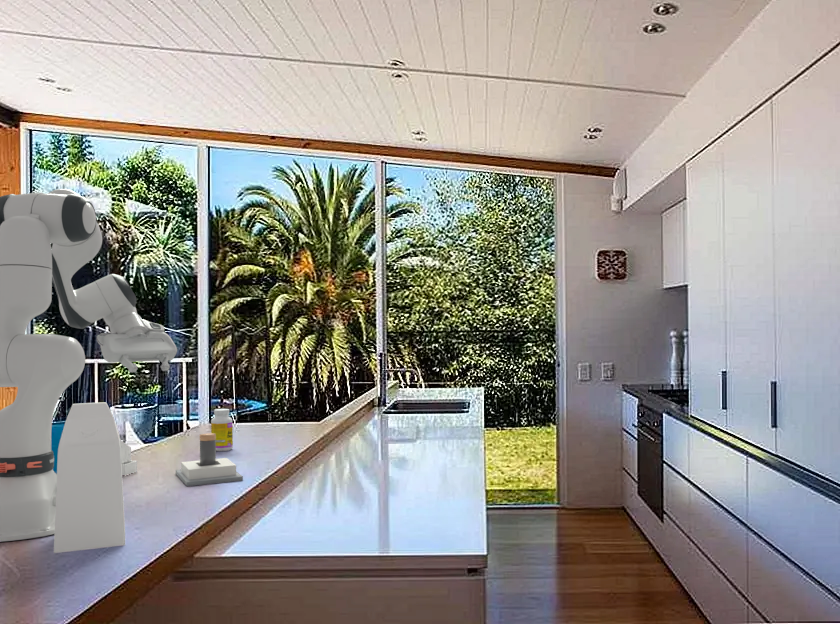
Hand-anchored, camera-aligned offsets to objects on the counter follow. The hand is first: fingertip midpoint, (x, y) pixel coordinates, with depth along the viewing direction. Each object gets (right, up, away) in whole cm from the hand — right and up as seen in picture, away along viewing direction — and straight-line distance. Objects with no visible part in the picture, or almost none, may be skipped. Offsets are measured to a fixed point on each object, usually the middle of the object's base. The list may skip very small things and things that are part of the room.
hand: (150, 369), depth 204 cm
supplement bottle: (+8, -29, +42) cm, 51 cm away
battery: (+15, -27, -1) cm, 31 cm away
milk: (+9, -28, -58) cm, 65 cm away
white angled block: (-9, -29, +5) cm, 31 cm away
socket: (+15, -28, 0) cm, 32 cm away
